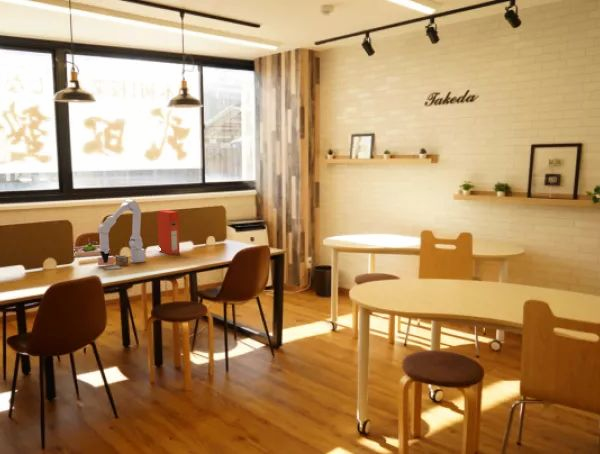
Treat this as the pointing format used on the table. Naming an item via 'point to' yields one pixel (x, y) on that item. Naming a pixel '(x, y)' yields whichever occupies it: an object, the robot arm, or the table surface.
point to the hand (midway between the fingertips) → (105, 262)
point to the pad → (111, 267)
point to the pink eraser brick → (110, 261)
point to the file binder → (168, 231)
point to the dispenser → (122, 260)
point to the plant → (89, 248)
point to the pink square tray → (86, 252)
